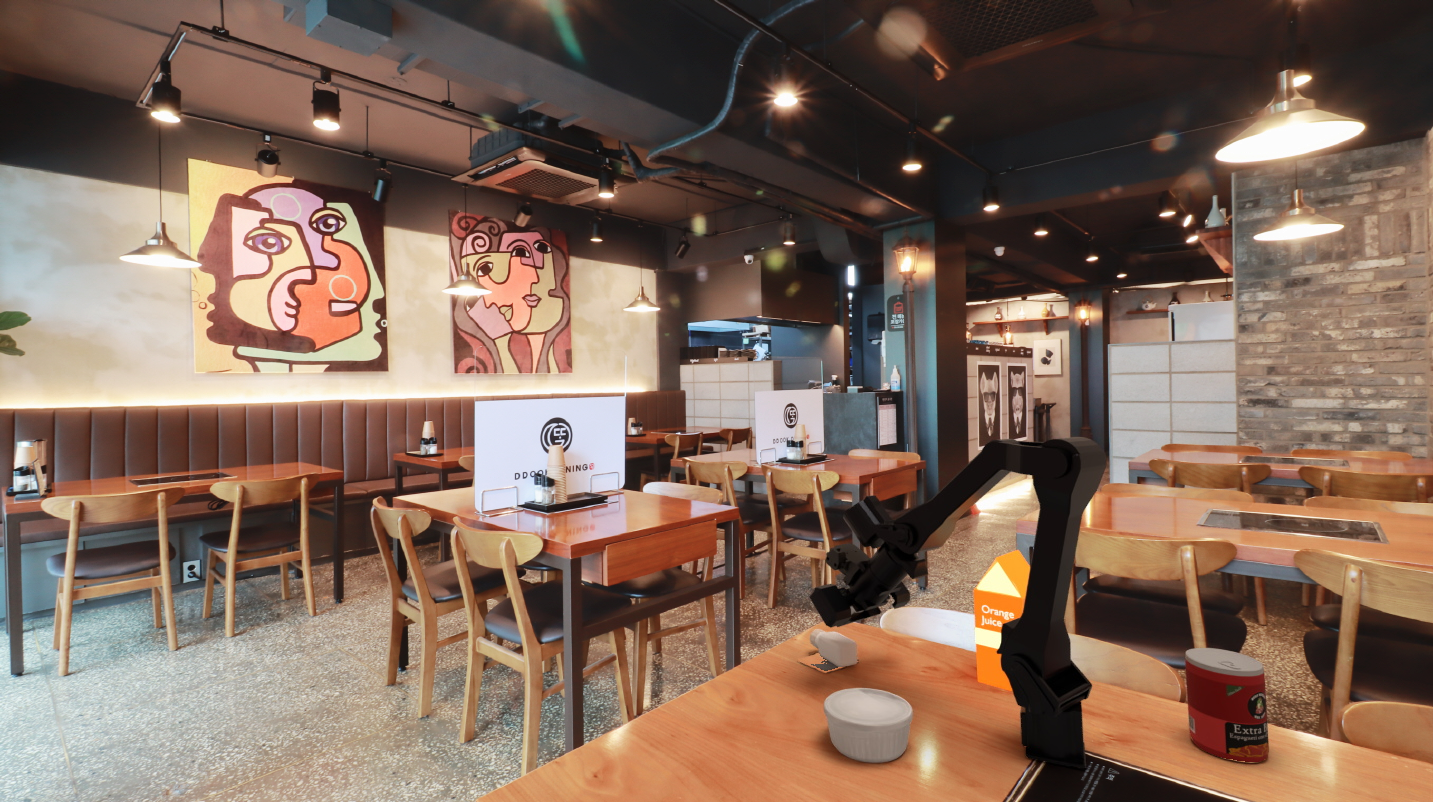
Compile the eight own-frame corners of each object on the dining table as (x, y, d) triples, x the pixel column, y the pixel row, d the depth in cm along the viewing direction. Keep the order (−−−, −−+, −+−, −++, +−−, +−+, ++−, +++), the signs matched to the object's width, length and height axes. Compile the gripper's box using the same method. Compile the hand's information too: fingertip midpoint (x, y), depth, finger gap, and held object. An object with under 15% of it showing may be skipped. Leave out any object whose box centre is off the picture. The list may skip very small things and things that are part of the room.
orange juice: (976, 681, 102) (970, 555, 102) (1001, 666, 108) (995, 546, 108) (1027, 695, 96) (1020, 561, 97) (1050, 678, 102) (1043, 552, 103)
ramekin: (923, 736, 85) (921, 696, 85) (901, 778, 75) (899, 732, 76) (842, 719, 91) (841, 681, 91) (812, 755, 81) (810, 713, 81)
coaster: (858, 662, 111) (858, 659, 111) (825, 673, 107) (825, 670, 107) (829, 651, 117) (829, 648, 117) (797, 661, 112) (797, 658, 112)
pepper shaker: (839, 669, 108) (807, 650, 116) (858, 665, 109) (825, 646, 118) (839, 645, 108) (807, 628, 116) (858, 641, 109) (825, 624, 118)
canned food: (1239, 769, 75) (1233, 674, 75) (1173, 738, 82) (1169, 651, 83) (1286, 758, 77) (1281, 665, 77) (1218, 728, 84) (1213, 644, 85)
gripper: (893, 523, 111) (849, 576, 120) (815, 537, 101) (772, 594, 109) (934, 577, 105) (883, 628, 113) (854, 598, 94) (806, 653, 103)
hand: (837, 624), depth 110 cm, fingers closed
